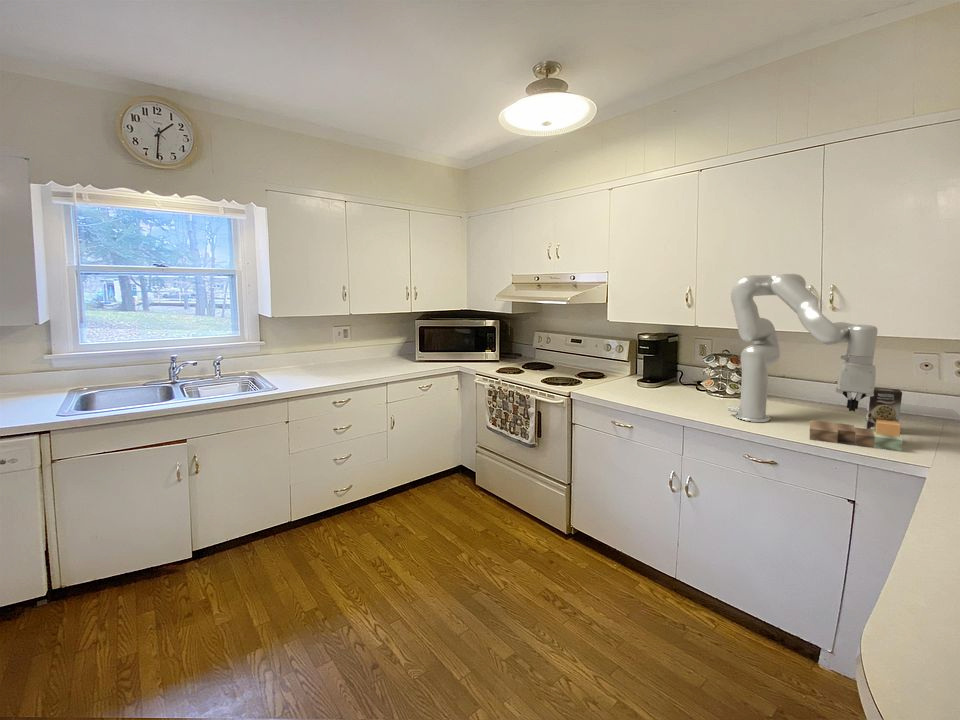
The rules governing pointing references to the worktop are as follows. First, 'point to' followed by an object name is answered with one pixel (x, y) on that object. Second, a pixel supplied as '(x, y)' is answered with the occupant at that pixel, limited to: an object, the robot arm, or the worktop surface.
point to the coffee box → (883, 406)
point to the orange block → (887, 428)
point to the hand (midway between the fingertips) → (851, 410)
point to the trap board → (852, 436)
